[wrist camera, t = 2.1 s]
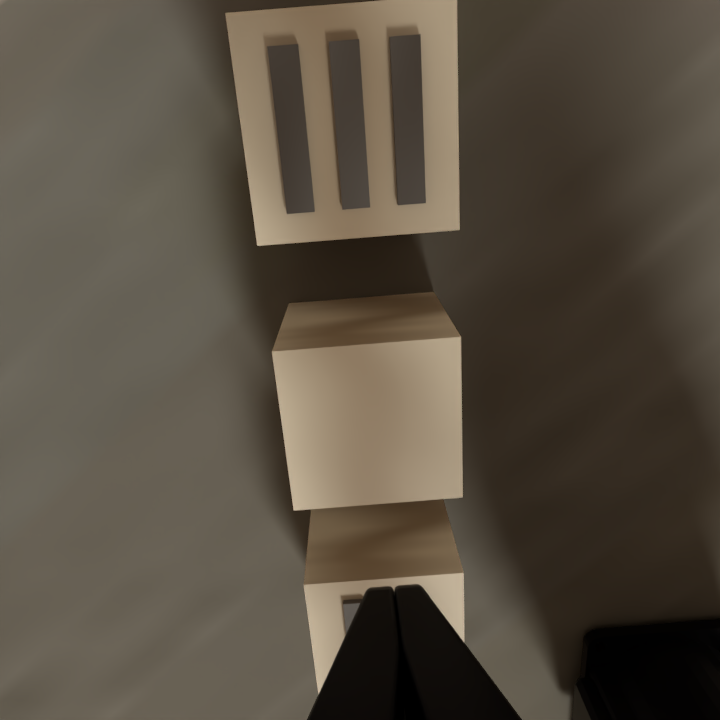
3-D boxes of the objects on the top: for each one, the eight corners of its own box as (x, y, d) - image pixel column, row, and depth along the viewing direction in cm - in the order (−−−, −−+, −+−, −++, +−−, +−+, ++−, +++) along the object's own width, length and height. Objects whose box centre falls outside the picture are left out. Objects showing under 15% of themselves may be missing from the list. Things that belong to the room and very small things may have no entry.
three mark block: (425, 35, 15) (458, -8, 11) (431, 208, 17) (461, 231, 12) (258, 49, 15) (223, 10, 11) (279, 220, 17) (255, 247, 12)
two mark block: (438, 483, 20) (464, 576, 16) (441, 584, 22) (465, 694, 17) (312, 493, 20) (303, 589, 16) (324, 593, 22) (319, 705, 17)
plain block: (433, 291, 18) (461, 336, 14) (437, 420, 19) (463, 497, 15) (289, 302, 18) (271, 351, 14) (304, 431, 19) (293, 510, 15)
